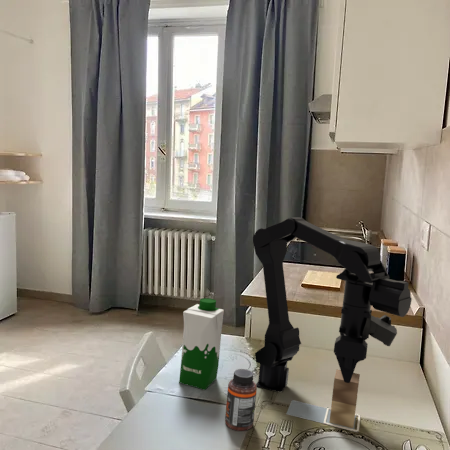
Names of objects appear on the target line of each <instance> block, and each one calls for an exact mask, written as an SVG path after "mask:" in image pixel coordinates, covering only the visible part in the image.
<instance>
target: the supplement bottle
mask: <svg viewBox="0 0 450 450" xmlns="http://www.w3.org/2000/svg"><path fill="white" fill-rule="evenodd" d="M256 384H257V383H256V382H255V381H254V373H253V372H252V371H251V370H249V369H246V368H237V369H235V370H234V371H233V377H232V379H231V380H230V381H228V384H227V385H228V386H227V394H226V405H225V416H224V418H225V419H224V422H225V424H226V426H227V427H228V428H229V429H232V430H233V431H237V432H243V431H248V430H250V429H252V428H253V425H254V420H255V409H256V400H257V391H258V389H257V388H258V387H257V386H256Z"/></svg>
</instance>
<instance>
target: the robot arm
mask: <svg viewBox="0 0 450 450" xmlns="http://www.w3.org/2000/svg"><path fill="white" fill-rule="evenodd" d="M296 238H297V239H299V240H301V241H303V242H305V243H307V244H308V245H311V246H313V247H315V248H317V249H319V250H321V251H323V252H325V253H327V254H329V255H330V256H332V257H333V258H334V259H335V260H336V262H337V263H338V264H339V265H340V266H341V267H343V268H344V270H343V271H342V272H340V273H338V274H337V275H336V277H335V278H336V279H338V280H343V281H344V282H345V283H344V291H343V297H342V298H343V300H342V306H341V312H340V314H341V315H340V316H341V318H340V325H339V329H338V333H339V334H340V335H338V336H337V337H336V338H335V340H334V347H333V353H334V355H335V357H336V360H337V362H338V366H339V370H341V373H342V376H343V379H344V382H346V383H350V381H351V378H352V375H353V373H355V372H354V371H355V369H356V368H357V367H356V366H357V364H358V363H359V362H362V361H364V360H366V359H367V354H368V353H367V352H368V343H367V341H366V340H368V339H370V338H369V337H371V338H373V339H375V340H377V341H379V342H381V343H382V344H383V345H385V346H387V347H391V345H392V343H393V342H394V339H395V338H396V336H397V335H398V330H397V327H396V326H395V325H392V317H390V316H388V315H387V314H390V315H395V316H397V317H401V318H404V317H405V316H406V315H407V314H408V312H409V311H410V309H411V305H412V296H411V290H410V288H409V282H408V281H403V280H395V279H390V275H389V274H388V271H387V269H386V267H385V266H384V264H383V262H382V260H381V259H382V258H381V253H380V251H379V249H378V247H376V246H374V245H372V244H369V243H366V242H365V243H364V242H360V241H355V240H351V239H350V240H349V239H346V238H343V237H341V236H338V235H336V234H334V233H332V232H330V231H328V230H326V229H324V228H321V227H320V226H317V225H315V224H313V223H311V222H310V221H306V220H305V219H304V218H303V217H288V218H286V219H285V220H283V221H281V222H279V223H276V224H274V225H270V226H268V227H263V228H258V229H257V230H256V231H255V233H254V234H253V236H252V244H253V247H254V253H255V255H256V256H257V259H258V260H259V262H260V263H261V264H262V271H263V278H264V288H265V290H264V291H265V296H266V297H265V298H266V306H267V314H268V315H267V316H268V326H267V327H266V331H265V334H264V346H263V347H261V348H259V350H257V351H256V352H254V356H255V357H254V358H255V362H256V363H258V364H259V370H258V371H259V372H258V379H257V383H255V384H256V386H257V388H260V389H264V390H268V391H272V392H277V393H282V392H283V391H284V389H286V387H287V385H288V382H289V381H288V380H289V373H290V371H289V370H290V368H289V367H288V362H290V361H291V362H292V360H293V358H294V356H296V355H297V354H298V352H299V351H300V345H302V342H301V339H300V328H299V327H294V326H293V324H292V323H291V321H290V318H289V317H290V316H289V309H288V307H289V306H288V298H287V291H286V290H287V289H286V281H285V272H284V260H285V258H286V254H287V251H288V243H290V242H292V241H294V240H295V239H296ZM370 272H371V273H370ZM371 307H373V309H374V310H375V311H376V310H377V311H380V312H383V313H387V314H384V315H382V316H381V317H378V316H377V317H376V316H374V315H372V314H373V313H372V311H373V310H372V309H371Z"/></svg>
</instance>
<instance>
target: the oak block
mask: <svg viewBox="0 0 450 450" xmlns="http://www.w3.org/2000/svg"><path fill="white" fill-rule="evenodd" d="M357 402H358V400H357V401H356V404H358V403H357ZM330 408H331V413H330V421H329V422H330V423H334V424H338V425H342V426H346V427H350V428H353V427H354V419H355V414H356V409H357V405H356V406H354V405H349V404H345V403H341V402H337V401H332V400H331V407H330Z"/></svg>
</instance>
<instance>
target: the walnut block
mask: <svg viewBox="0 0 450 450" xmlns="http://www.w3.org/2000/svg"><path fill="white" fill-rule="evenodd" d="M360 375H361V374H359V373H355V372H353V375H352V378H351V381H350V383H346V382H344V379H343V376H342V373H341V370H340V369H335V375H334V379H333V388H332V396H331V397H332V398H331V402H332V401H337V402H341V403H345V404H349V405H354V406H356V407H357V403H356V401H357V402H358V392H359V385H360V384H359V383H360Z"/></svg>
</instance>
